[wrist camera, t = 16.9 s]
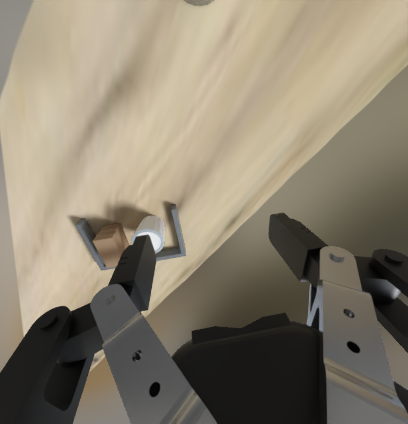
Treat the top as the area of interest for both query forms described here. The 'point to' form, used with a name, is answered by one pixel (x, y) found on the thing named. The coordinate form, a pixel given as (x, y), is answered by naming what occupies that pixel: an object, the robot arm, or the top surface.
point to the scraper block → (111, 244)
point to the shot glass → (151, 231)
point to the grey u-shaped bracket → (161, 255)
